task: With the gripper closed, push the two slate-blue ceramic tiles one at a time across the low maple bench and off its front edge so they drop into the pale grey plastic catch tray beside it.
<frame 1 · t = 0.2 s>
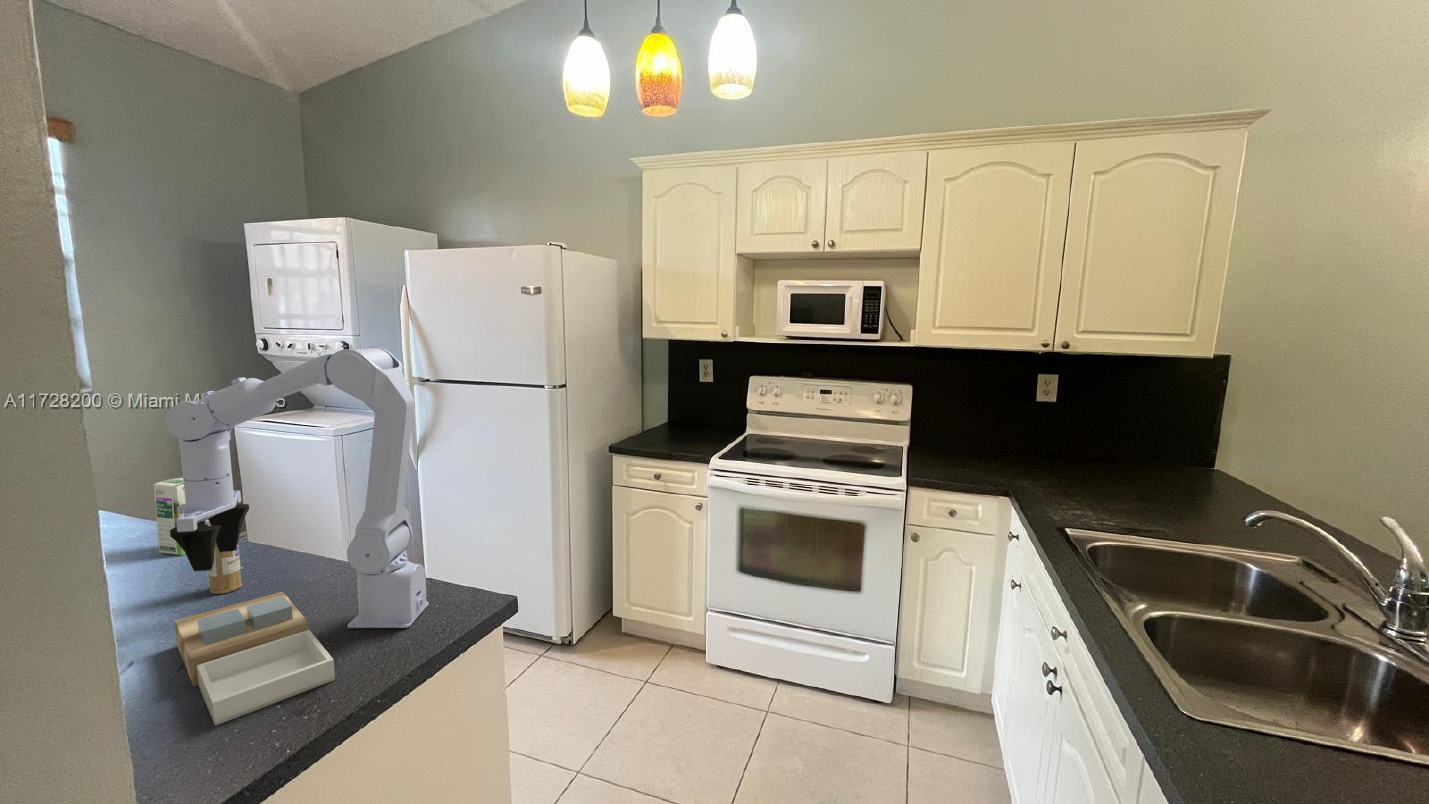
hand: (216, 560, 92), 10 cm above the counter, tool pointing down, fingers open, 7 cm apart
slate tile 2: (270, 618, 86), point 4 cm above the counter, touching maple bench
catch tray: (267, 683, 78), on the counter
syrup box: (185, 550, 119), on the counter
slate tile 1: (222, 633, 82), point 4 cm above the counter, touching maple bench
sprinkles bottle: (226, 590, 103), on the counter
maple bench: (244, 646, 86), on the counter
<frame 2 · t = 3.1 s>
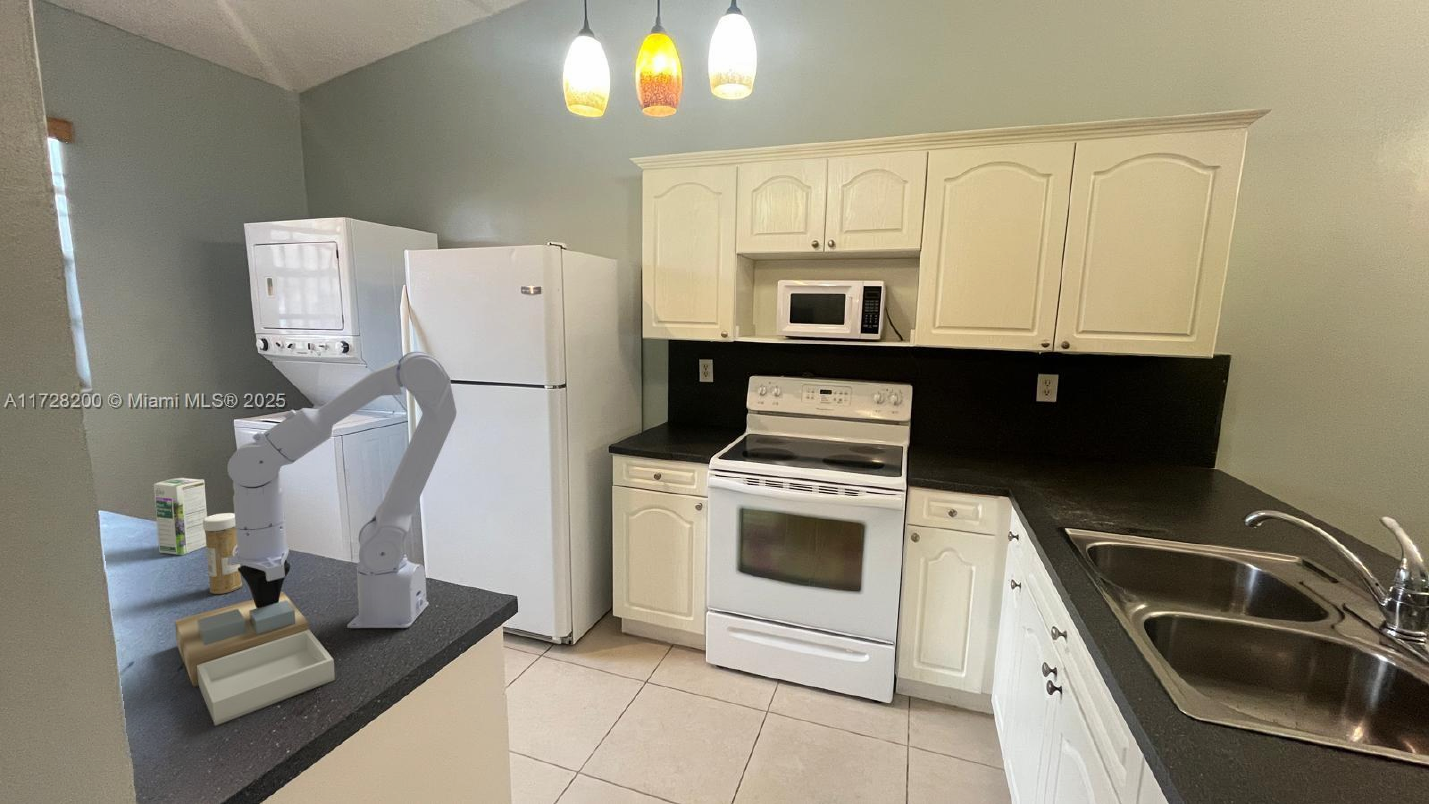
hand: (267, 610, 87), 5 cm above the counter, tool pointing down, fingers closed
slate tile 2: (272, 623, 85), point 4 cm above the counter, touching maple bench
everything else where it was.
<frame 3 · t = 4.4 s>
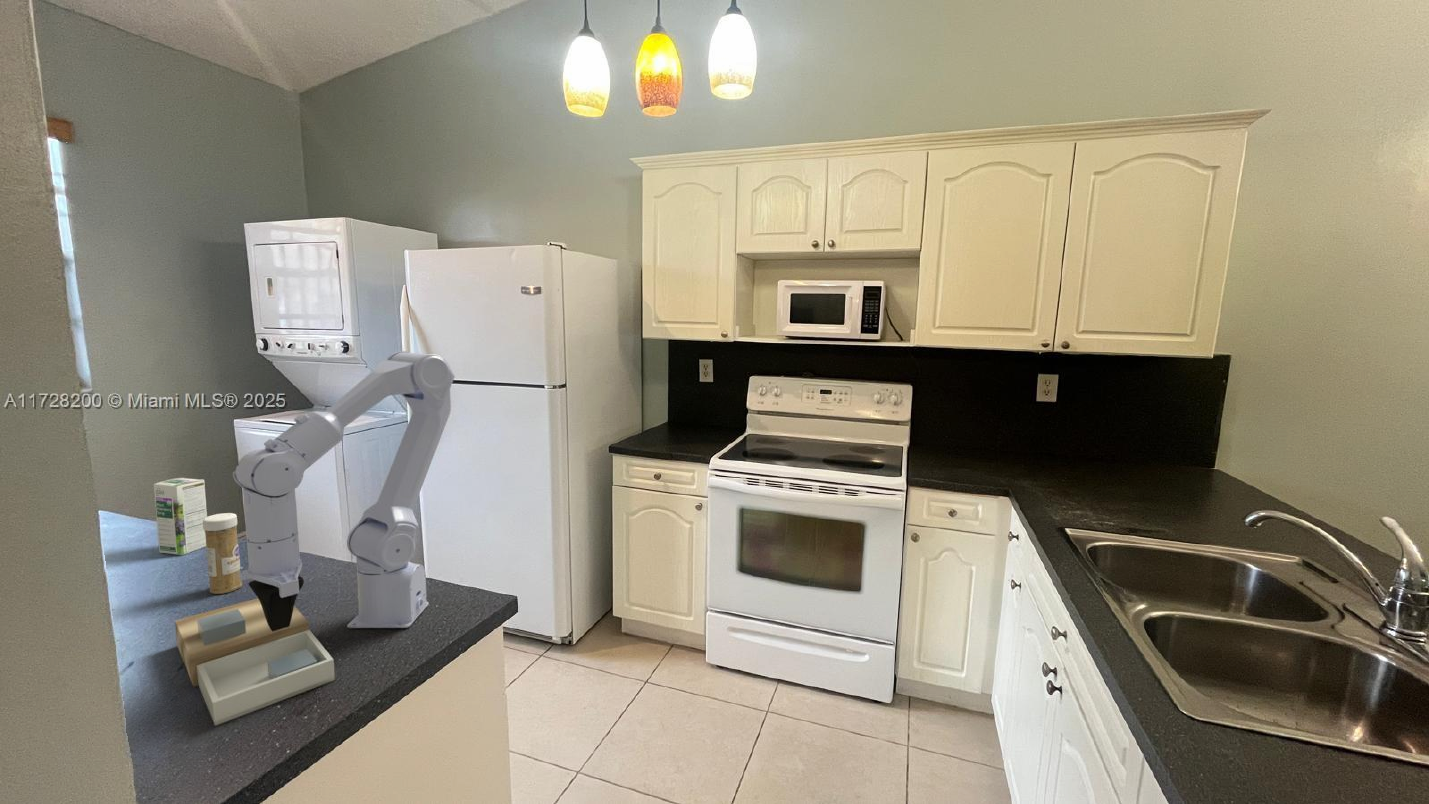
hand: (279, 627, 82), 5 cm above the counter, tool pointing down, fingers closed
slate tile 2: (292, 661, 78), point 2 cm above the counter, tilted 180°, touching catch tray
everything else where it was.
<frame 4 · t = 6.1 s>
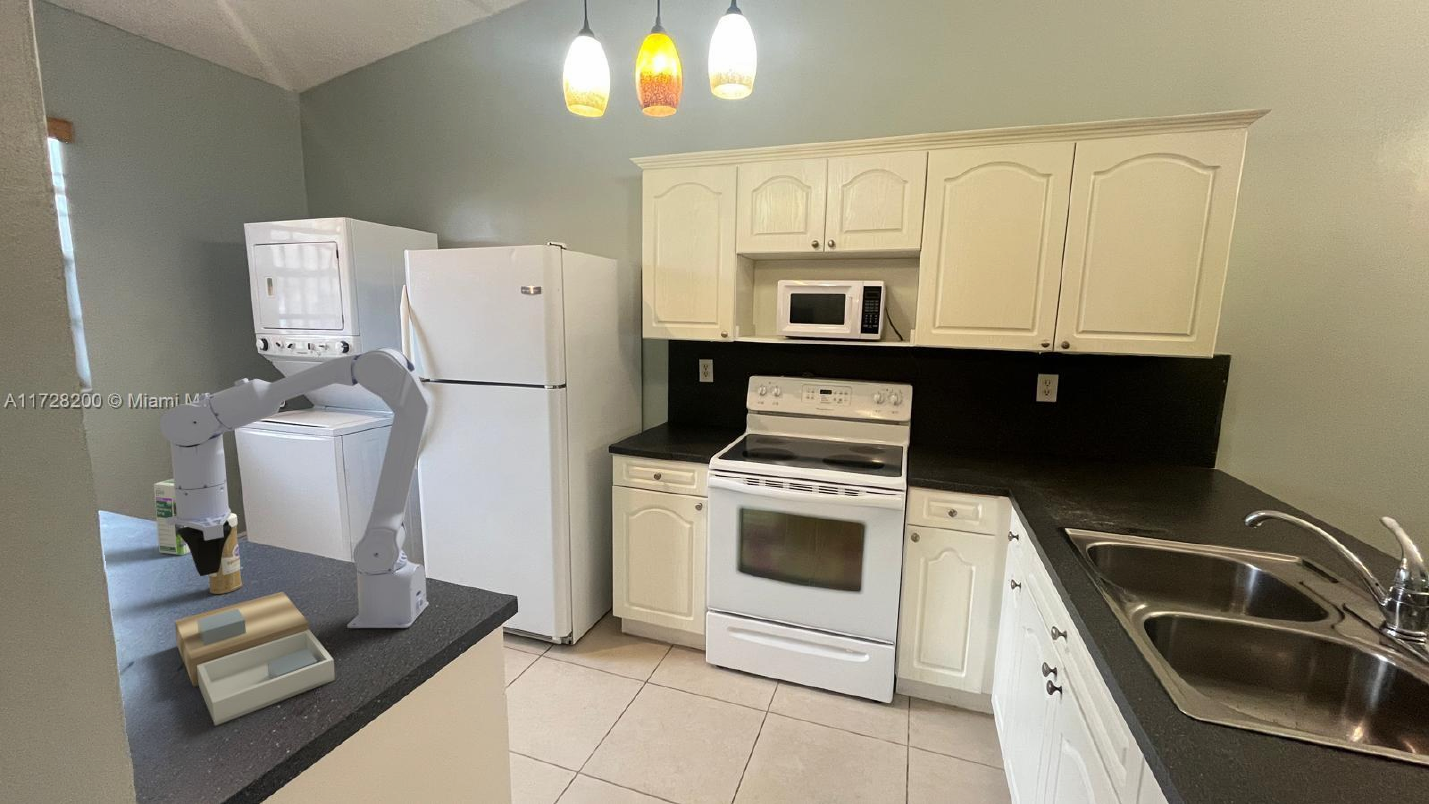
hand: (208, 573, 86), 10 cm above the counter, tool pointing down, fingers closed
nothing on the counter moved.
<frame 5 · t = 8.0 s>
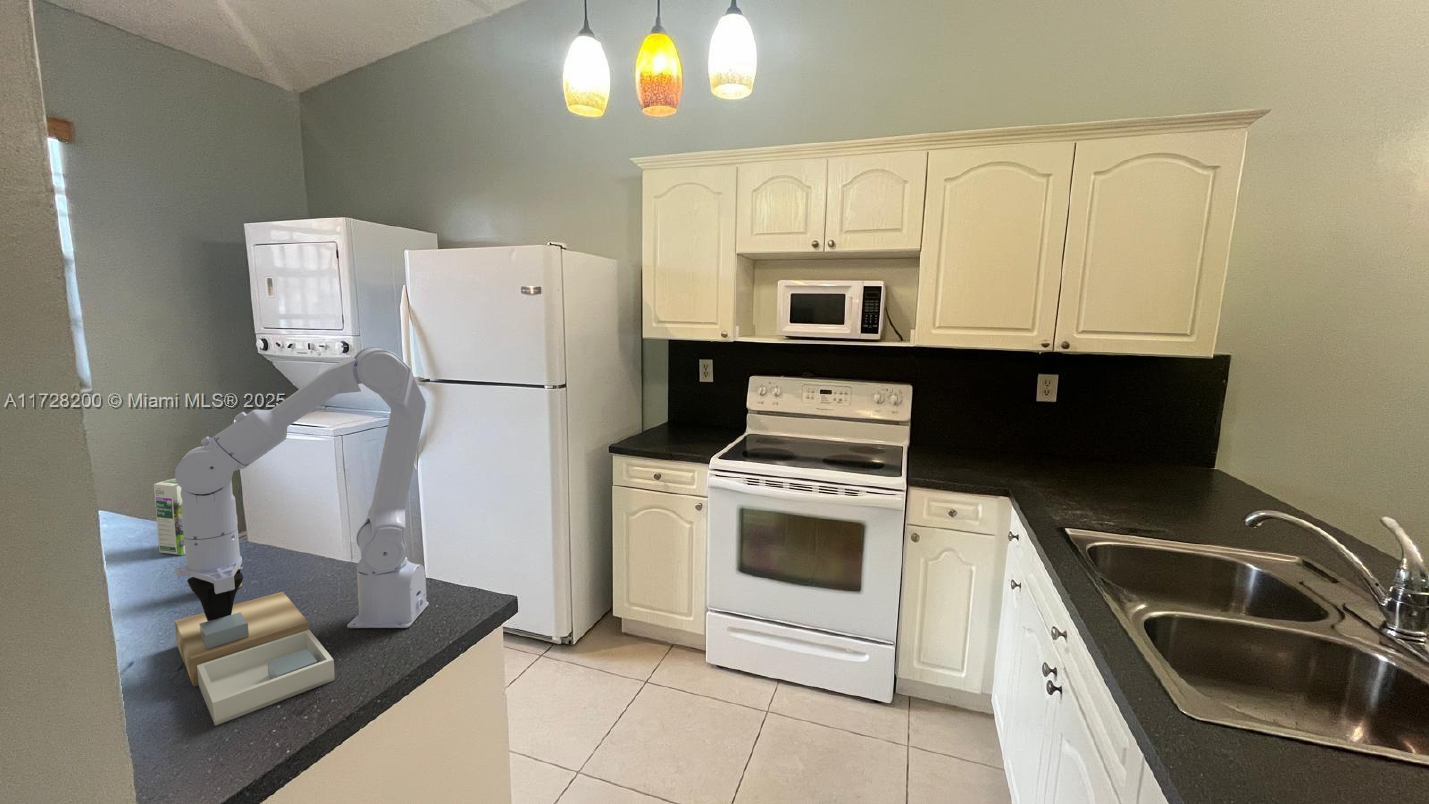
hand: (219, 623, 83), 5 cm above the counter, tool pointing down, fingers closed
slate tile 1: (224, 636, 81), point 4 cm above the counter, touching gripper
everything else where it was.
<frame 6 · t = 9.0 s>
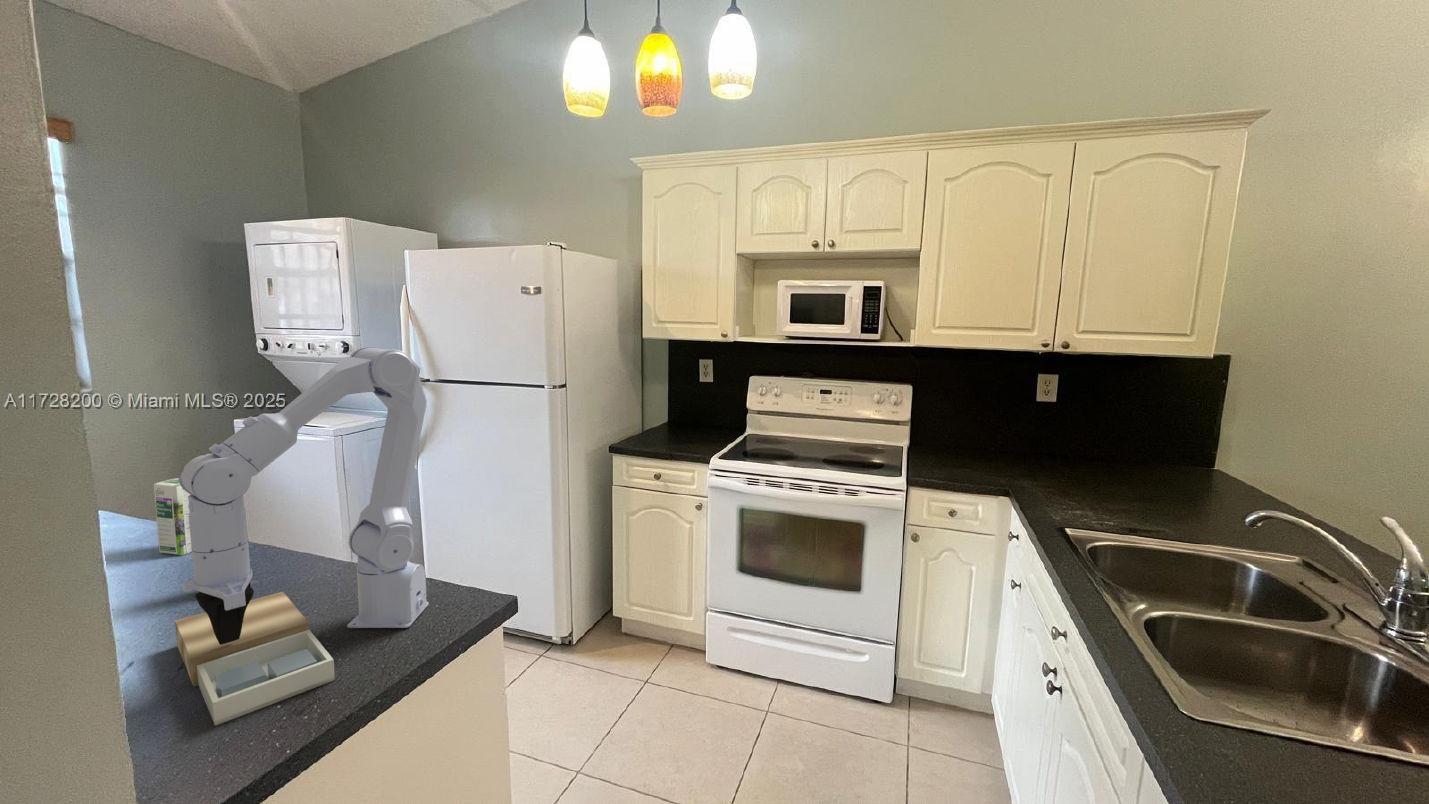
hand: (228, 640, 79), 5 cm above the counter, tool pointing down, fingers closed
slate tile 1: (240, 674, 75), point 2 cm above the counter, tilted 180°, touching catch tray
everything else where it was.
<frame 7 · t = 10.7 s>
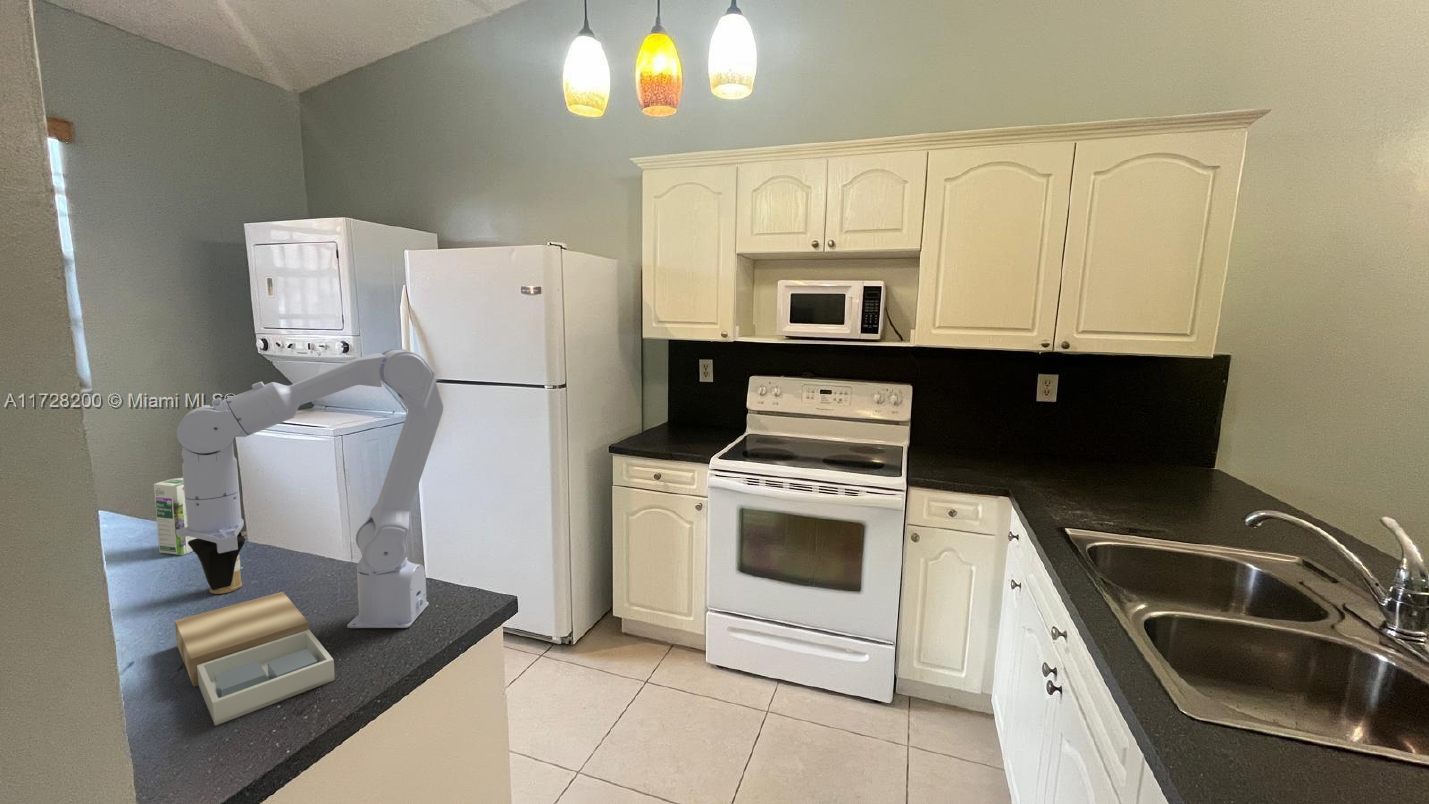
hand: (220, 586, 82), 10 cm above the counter, tool pointing down, fingers closed
nothing on the counter moved.
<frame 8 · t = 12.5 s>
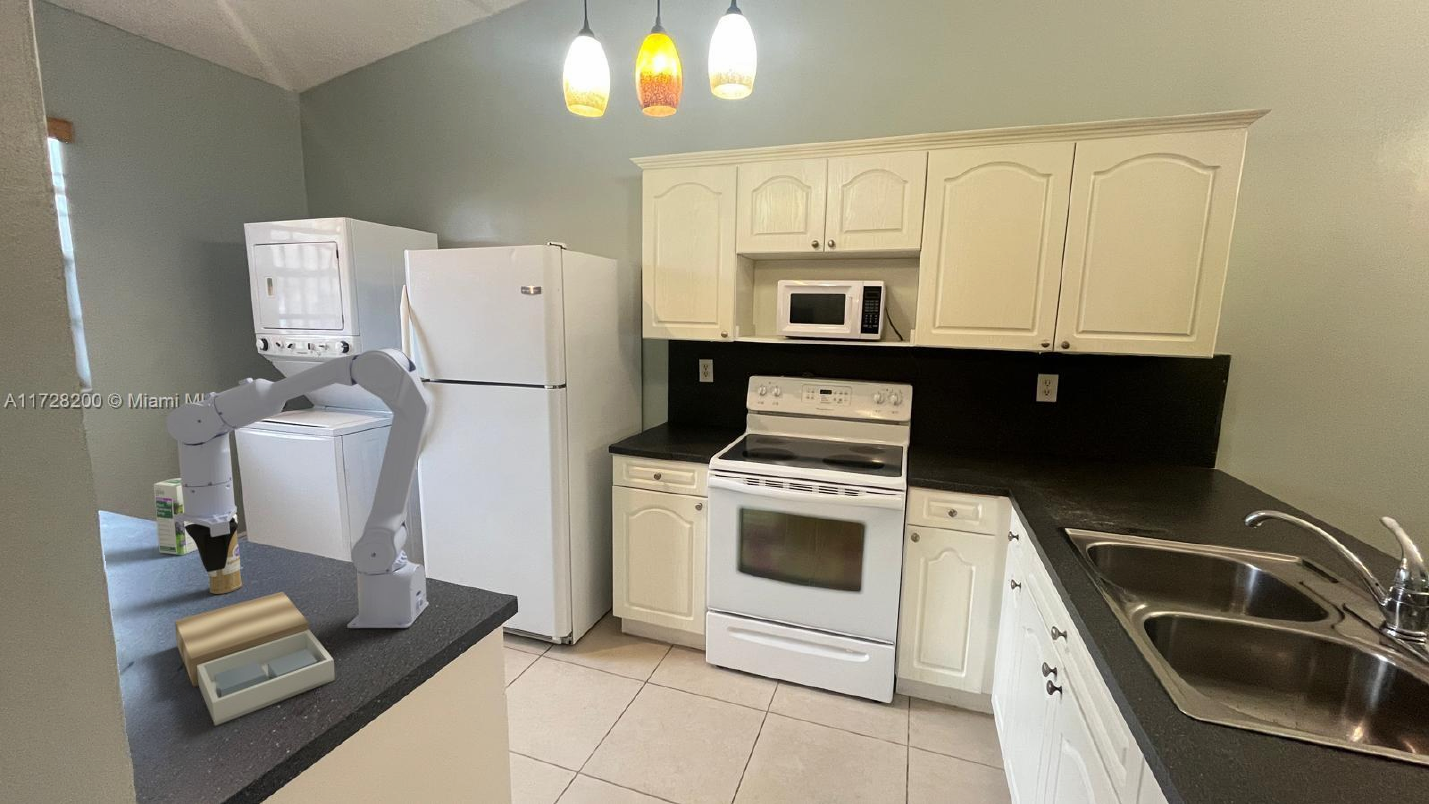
hand: (215, 569, 88), 10 cm above the counter, tool pointing down, fingers closed
nothing on the counter moved.
at the end: slate tile 2 inside the target area on the catch tray (2.8 cm from its centre), point 2.5 cm above the catch tray's base; slate tile 1 inside the target area on the catch tray (2.8 cm from its centre), point 2.5 cm above the catch tray's base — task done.
